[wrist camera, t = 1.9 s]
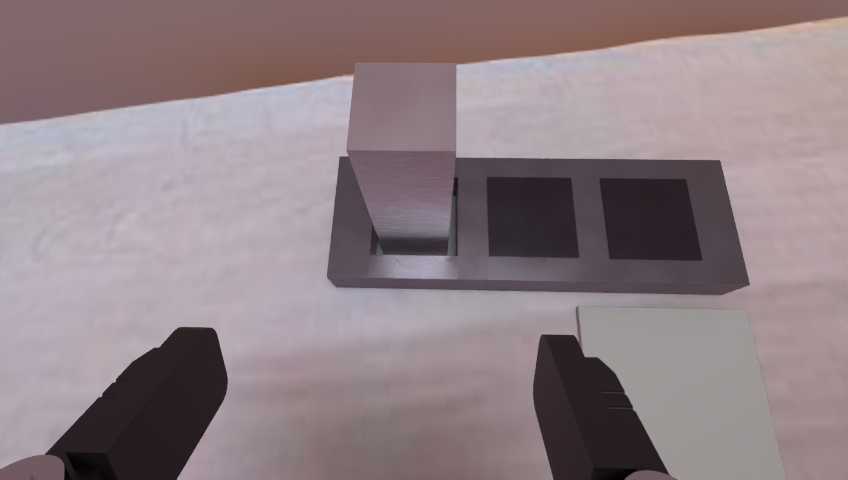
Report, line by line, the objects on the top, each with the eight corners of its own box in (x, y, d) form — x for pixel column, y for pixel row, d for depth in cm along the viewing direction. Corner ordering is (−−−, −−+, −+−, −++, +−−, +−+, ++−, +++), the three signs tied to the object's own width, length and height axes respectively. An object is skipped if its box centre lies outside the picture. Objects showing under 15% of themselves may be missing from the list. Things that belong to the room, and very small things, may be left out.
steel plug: (447, 202, 29) (456, 63, 17) (446, 259, 28) (456, 151, 16) (388, 201, 29) (355, 62, 17) (385, 258, 28) (346, 150, 16)
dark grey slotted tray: (697, 179, 29) (721, 159, 27) (721, 294, 27) (751, 284, 24) (347, 175, 30) (339, 155, 28) (336, 287, 27) (326, 276, 25)
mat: (742, 311, 26) (746, 310, 26) (784, 499, 23) (790, 500, 22) (576, 307, 26) (578, 306, 26) (594, 492, 23) (596, 494, 23)
